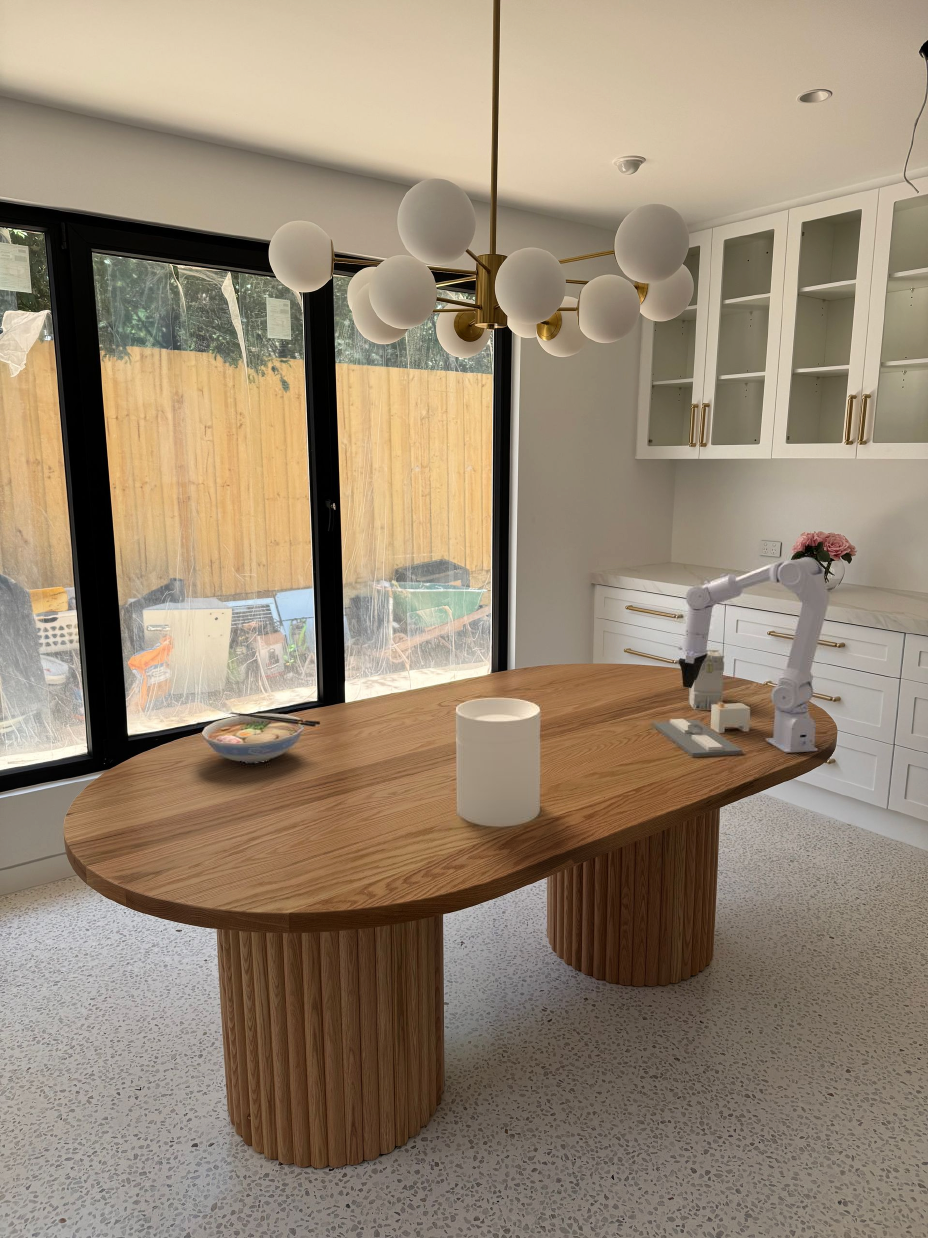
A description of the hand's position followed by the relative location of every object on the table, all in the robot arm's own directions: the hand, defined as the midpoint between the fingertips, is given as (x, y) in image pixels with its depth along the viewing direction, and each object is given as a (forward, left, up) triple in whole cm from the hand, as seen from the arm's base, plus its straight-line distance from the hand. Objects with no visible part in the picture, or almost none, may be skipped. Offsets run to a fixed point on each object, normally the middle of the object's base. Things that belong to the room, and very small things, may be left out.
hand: (689, 683), depth 210 cm
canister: (-46, +59, -11) cm, 76 cm away
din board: (-13, +4, -11) cm, 17 cm away
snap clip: (-13, +4, -8) cm, 16 cm away
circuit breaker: (+17, -12, -11) cm, 23 cm away
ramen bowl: (-8, +108, -11) cm, 109 cm away
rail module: (-7, -8, -11) cm, 15 cm away
